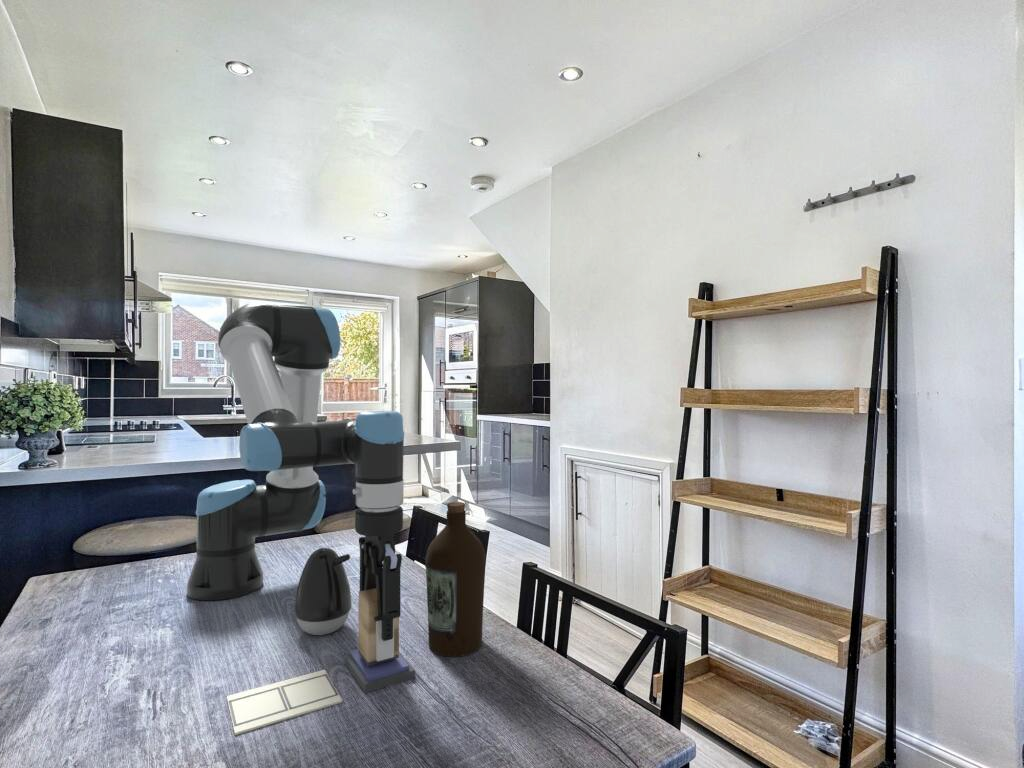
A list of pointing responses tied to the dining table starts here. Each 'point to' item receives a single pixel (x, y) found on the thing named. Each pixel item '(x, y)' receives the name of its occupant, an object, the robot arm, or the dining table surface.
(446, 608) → the olive oil
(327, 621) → the pump dispenser
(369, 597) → the tall wooden block
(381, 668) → the ink pad
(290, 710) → the tag card
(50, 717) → the dining table surface
